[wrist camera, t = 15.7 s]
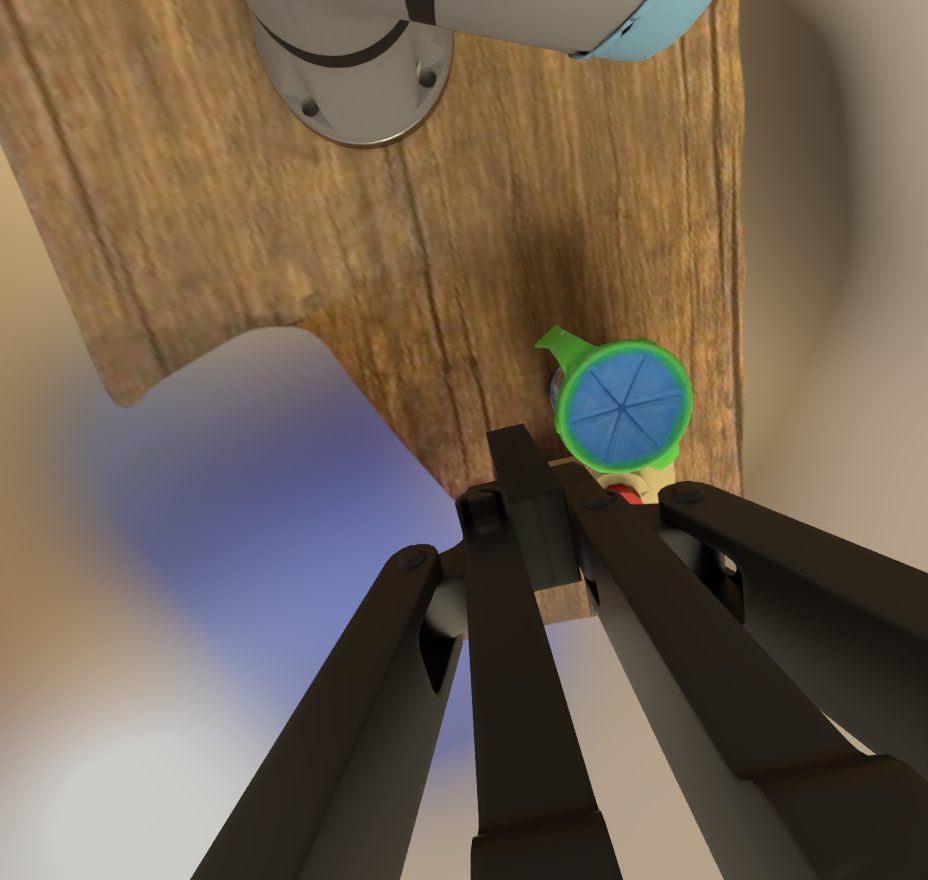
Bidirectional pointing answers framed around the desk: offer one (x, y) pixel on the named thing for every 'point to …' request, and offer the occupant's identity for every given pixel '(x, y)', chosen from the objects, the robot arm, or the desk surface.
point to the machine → (631, 479)
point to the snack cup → (618, 401)
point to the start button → (626, 494)
